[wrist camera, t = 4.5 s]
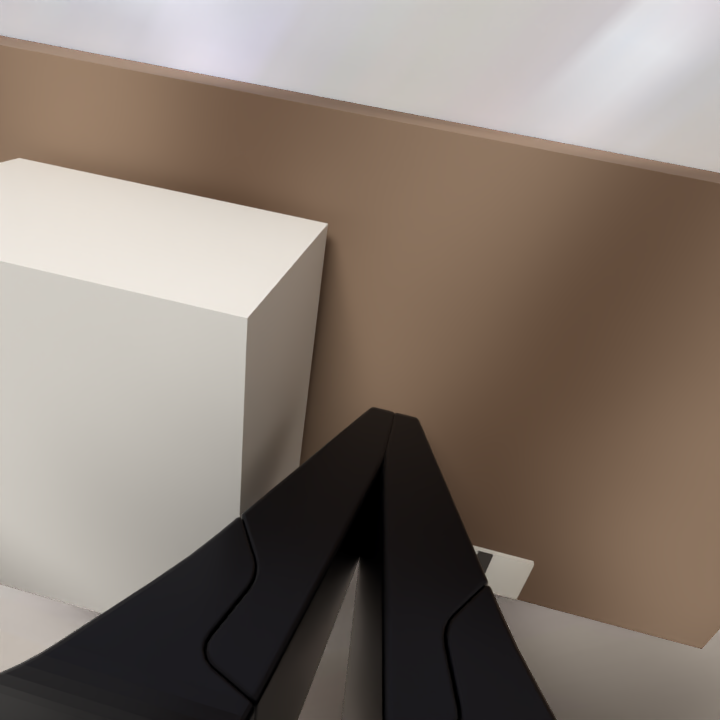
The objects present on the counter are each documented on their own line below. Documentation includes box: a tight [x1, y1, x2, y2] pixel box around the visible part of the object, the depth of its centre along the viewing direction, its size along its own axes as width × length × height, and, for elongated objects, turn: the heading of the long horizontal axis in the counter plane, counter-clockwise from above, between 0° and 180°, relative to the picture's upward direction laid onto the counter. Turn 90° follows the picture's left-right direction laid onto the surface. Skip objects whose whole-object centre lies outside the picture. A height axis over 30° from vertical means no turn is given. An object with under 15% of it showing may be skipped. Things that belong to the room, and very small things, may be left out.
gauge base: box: [0, 36, 720, 649], centre depth 10 cm, size 22×9×1 cm, turn 81°
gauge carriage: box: [0, 158, 328, 614], centre depth 9 cm, size 8×8×3 cm
